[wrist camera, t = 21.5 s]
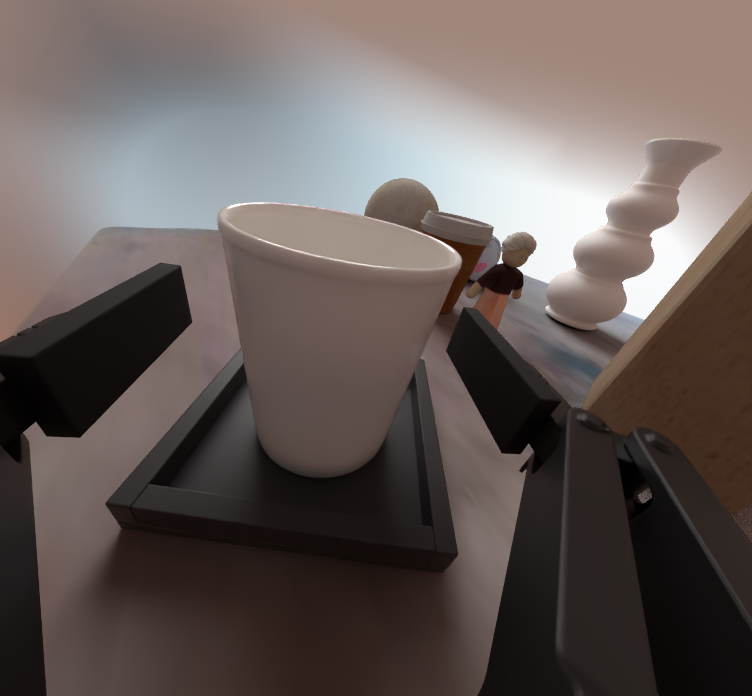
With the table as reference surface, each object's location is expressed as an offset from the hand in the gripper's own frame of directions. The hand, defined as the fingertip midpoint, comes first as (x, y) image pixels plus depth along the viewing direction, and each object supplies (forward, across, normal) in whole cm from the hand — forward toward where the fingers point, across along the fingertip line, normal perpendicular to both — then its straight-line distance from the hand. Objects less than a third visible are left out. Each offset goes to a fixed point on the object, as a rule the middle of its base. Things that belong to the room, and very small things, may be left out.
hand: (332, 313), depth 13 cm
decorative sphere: (+46, +12, -9) cm, 49 cm away
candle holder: (0, 0, -8) cm, 8 cm away
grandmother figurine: (+16, +19, -9) cm, 26 cm away
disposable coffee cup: (+24, +15, -9) cm, 30 cm away
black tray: (0, 0, -9) cm, 9 cm away
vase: (+26, +40, -9) cm, 49 cm away
